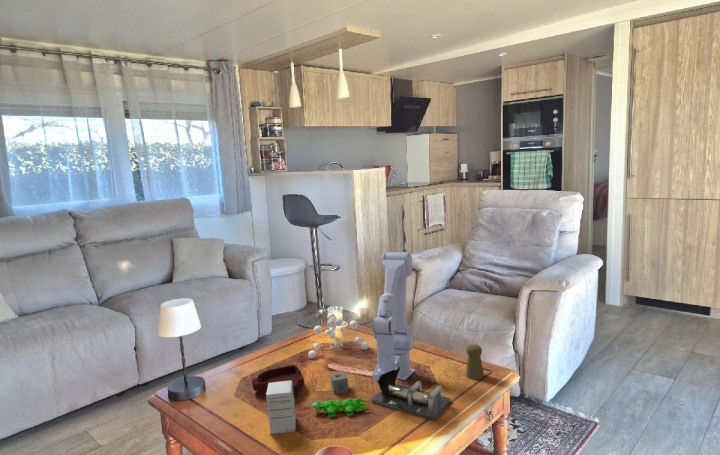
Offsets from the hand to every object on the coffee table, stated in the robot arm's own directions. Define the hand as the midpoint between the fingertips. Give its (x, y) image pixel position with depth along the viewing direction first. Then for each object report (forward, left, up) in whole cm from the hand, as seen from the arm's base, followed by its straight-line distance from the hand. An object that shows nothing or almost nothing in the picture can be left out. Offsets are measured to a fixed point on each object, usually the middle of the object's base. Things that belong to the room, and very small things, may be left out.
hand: (388, 391), depth 149 cm
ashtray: (-36, -11, -2) cm, 38 cm away
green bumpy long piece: (-9, -14, -2) cm, 17 cm away
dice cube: (-17, -4, -2) cm, 18 cm away
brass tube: (+6, 0, +1) cm, 6 cm away
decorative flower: (-40, +21, -2) cm, 45 cm away
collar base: (+8, 0, -2) cm, 8 cm away
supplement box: (-20, -29, -2) cm, 35 cm away
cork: (+20, +25, -2) cm, 32 cm away
